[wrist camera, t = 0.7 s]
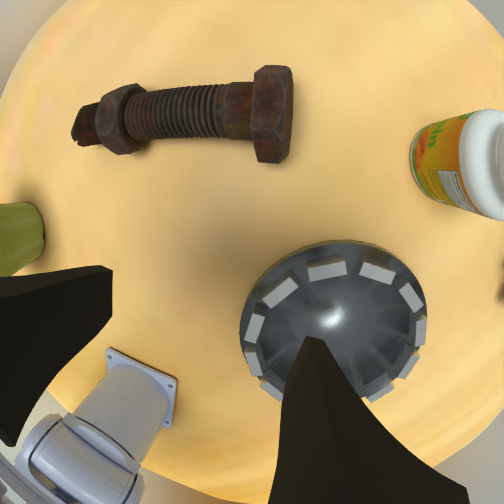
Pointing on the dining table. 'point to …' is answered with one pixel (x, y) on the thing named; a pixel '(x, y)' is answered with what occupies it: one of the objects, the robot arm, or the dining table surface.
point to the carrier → (336, 315)
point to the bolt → (195, 115)
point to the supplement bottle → (463, 162)
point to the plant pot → (19, 236)
